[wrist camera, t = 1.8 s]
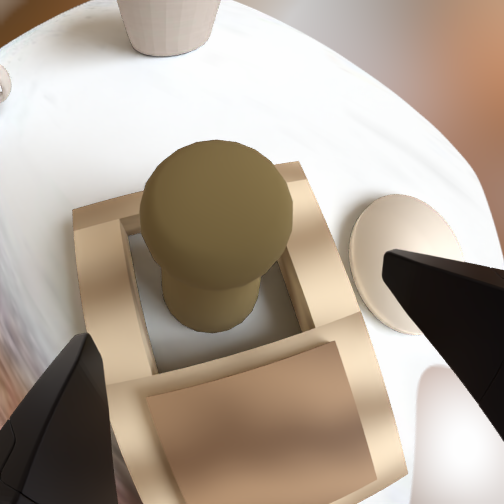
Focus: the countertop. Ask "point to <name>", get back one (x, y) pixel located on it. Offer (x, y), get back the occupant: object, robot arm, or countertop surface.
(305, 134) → the countertop surface
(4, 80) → the cup
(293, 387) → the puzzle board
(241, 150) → the cork
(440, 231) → the ceramic pad
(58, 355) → the robot arm
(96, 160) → the countertop surface
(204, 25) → the potted plant
